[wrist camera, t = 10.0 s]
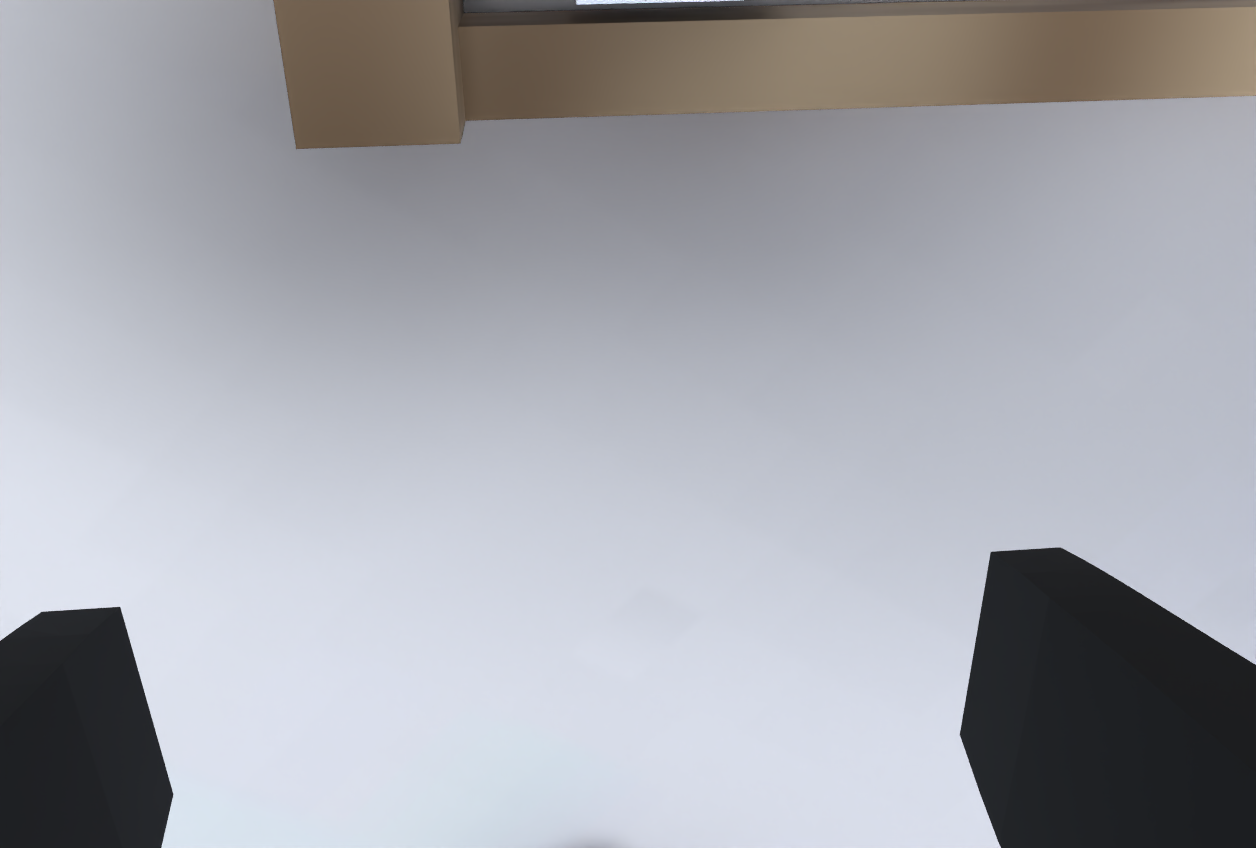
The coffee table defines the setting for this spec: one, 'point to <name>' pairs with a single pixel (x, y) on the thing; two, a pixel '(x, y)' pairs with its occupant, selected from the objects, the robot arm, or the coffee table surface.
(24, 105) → the coffee table surface
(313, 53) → the vise frame
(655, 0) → the block
